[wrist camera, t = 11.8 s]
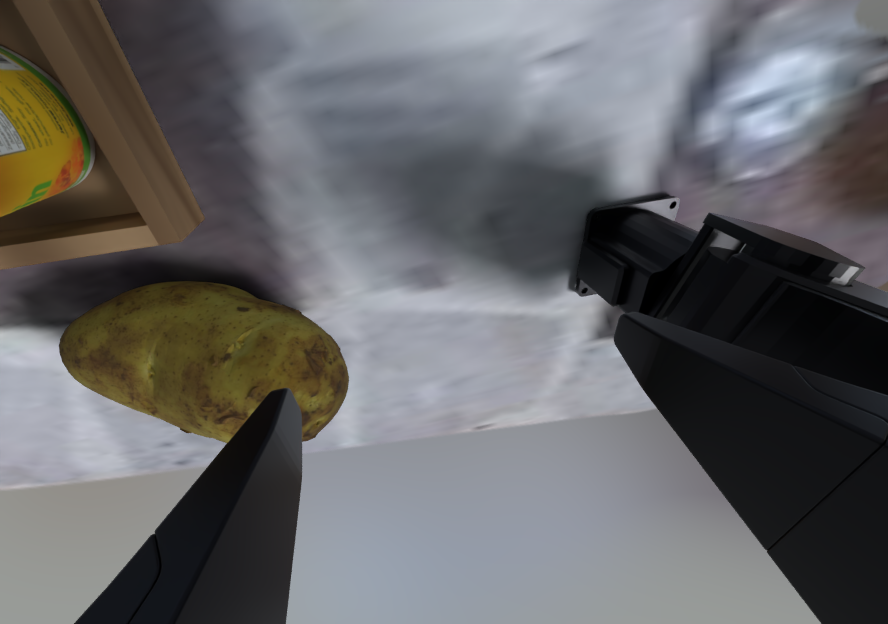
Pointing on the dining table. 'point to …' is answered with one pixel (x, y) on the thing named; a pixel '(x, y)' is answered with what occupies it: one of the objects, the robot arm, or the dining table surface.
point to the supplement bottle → (38, 136)
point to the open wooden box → (116, 144)
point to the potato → (205, 357)
